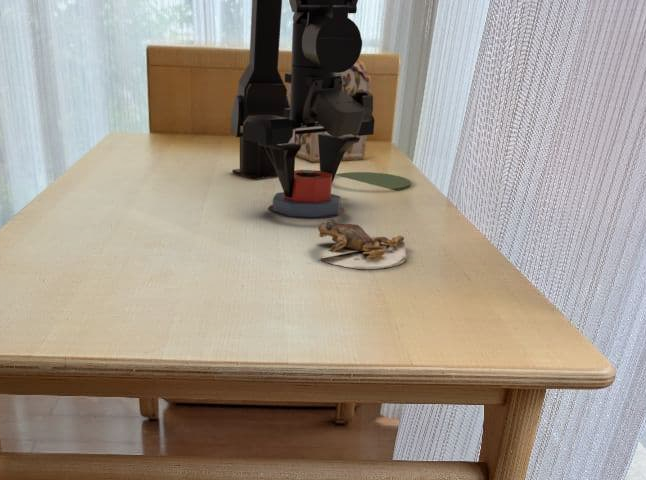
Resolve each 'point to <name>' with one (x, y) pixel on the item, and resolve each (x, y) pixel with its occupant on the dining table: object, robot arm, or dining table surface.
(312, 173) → the stacker
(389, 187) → the mat
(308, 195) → the top ring
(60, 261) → the dining table surface
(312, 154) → the decorative jar
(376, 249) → the frog figurine
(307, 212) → the bottom ring
